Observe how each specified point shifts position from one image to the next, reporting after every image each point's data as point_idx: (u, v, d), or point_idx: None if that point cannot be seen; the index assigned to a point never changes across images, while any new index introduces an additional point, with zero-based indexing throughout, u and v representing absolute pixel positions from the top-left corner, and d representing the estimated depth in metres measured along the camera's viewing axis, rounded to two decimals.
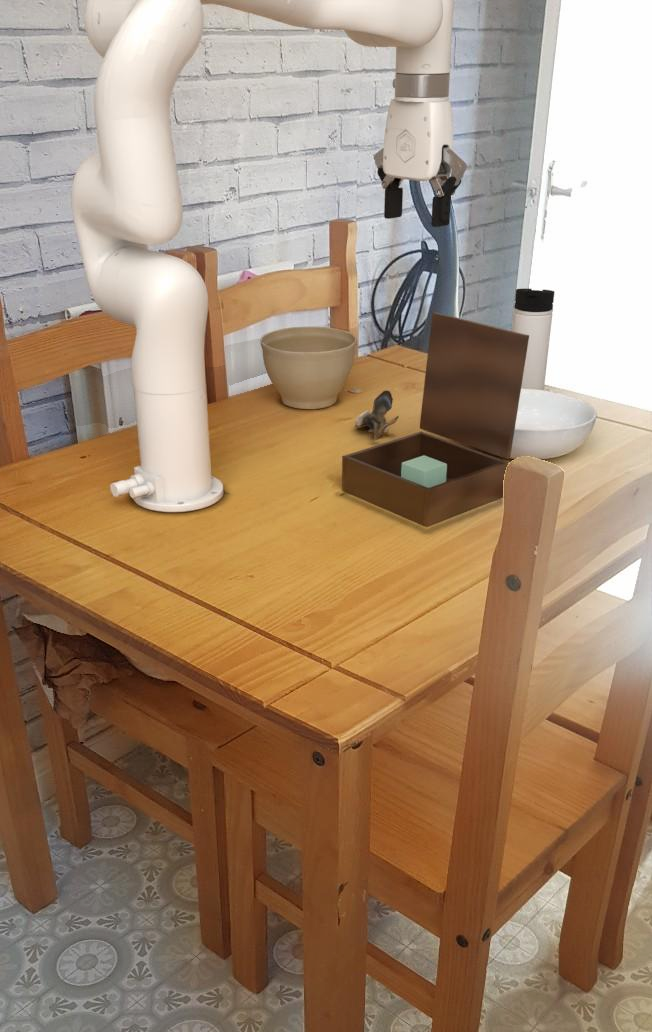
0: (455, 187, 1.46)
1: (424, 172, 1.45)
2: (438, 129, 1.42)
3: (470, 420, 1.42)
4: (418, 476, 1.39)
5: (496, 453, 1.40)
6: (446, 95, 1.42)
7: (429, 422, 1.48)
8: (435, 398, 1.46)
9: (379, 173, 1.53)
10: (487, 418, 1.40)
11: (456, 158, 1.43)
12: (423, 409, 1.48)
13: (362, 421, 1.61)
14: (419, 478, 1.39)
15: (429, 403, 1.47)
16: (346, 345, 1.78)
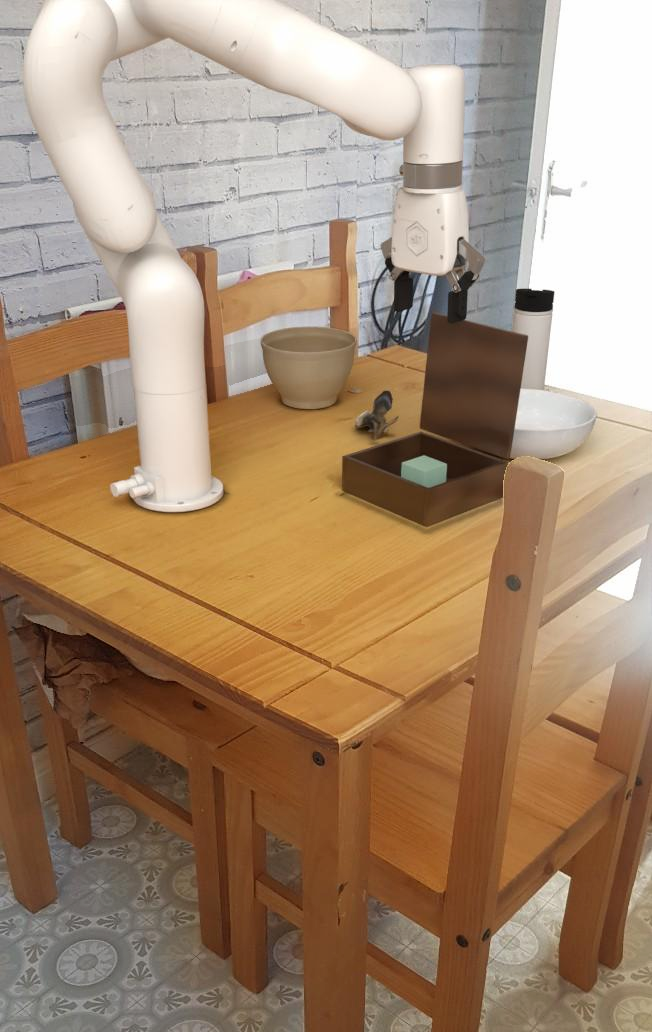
0: (472, 281, 1.34)
1: (438, 267, 1.33)
2: (452, 222, 1.30)
3: (470, 420, 1.42)
4: (418, 476, 1.39)
5: (496, 453, 1.40)
6: (460, 184, 1.30)
7: (429, 422, 1.48)
8: (435, 398, 1.46)
9: (387, 264, 1.41)
10: (487, 418, 1.40)
11: (473, 252, 1.31)
12: (422, 409, 1.48)
13: (362, 421, 1.61)
14: (419, 478, 1.39)
15: (429, 403, 1.47)
16: (346, 345, 1.78)
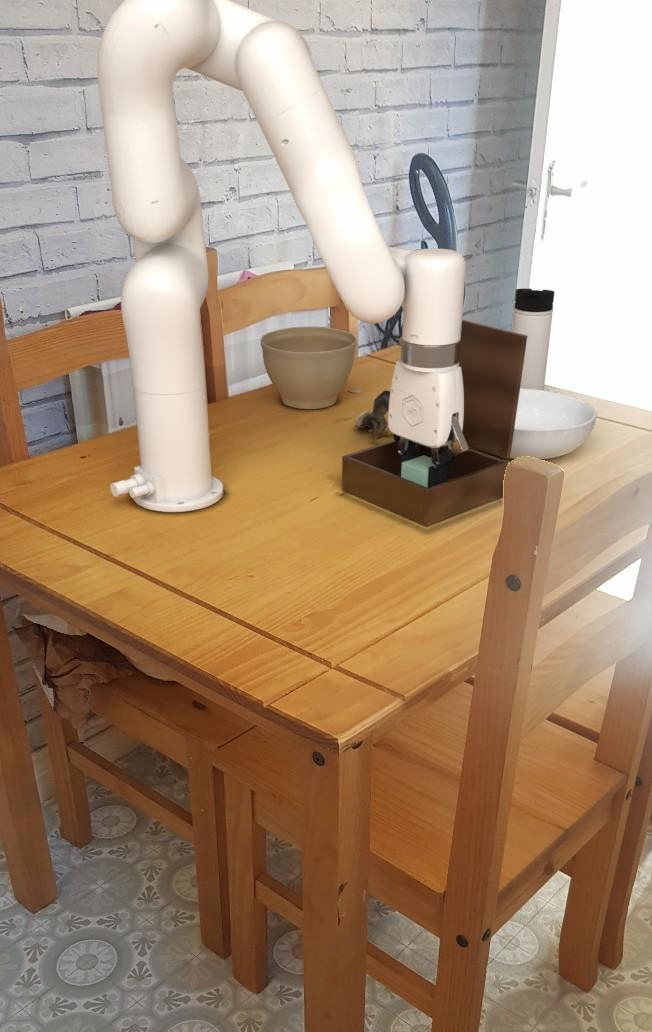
0: (452, 459, 1.37)
1: (432, 440, 1.34)
2: (447, 400, 1.31)
3: (470, 420, 1.42)
4: (418, 476, 1.39)
5: (496, 453, 1.40)
6: (456, 362, 1.32)
7: None
8: None
9: (395, 438, 1.42)
10: (487, 418, 1.40)
11: (460, 439, 1.34)
12: None
13: (362, 421, 1.61)
14: (419, 478, 1.39)
15: None
16: (346, 345, 1.78)
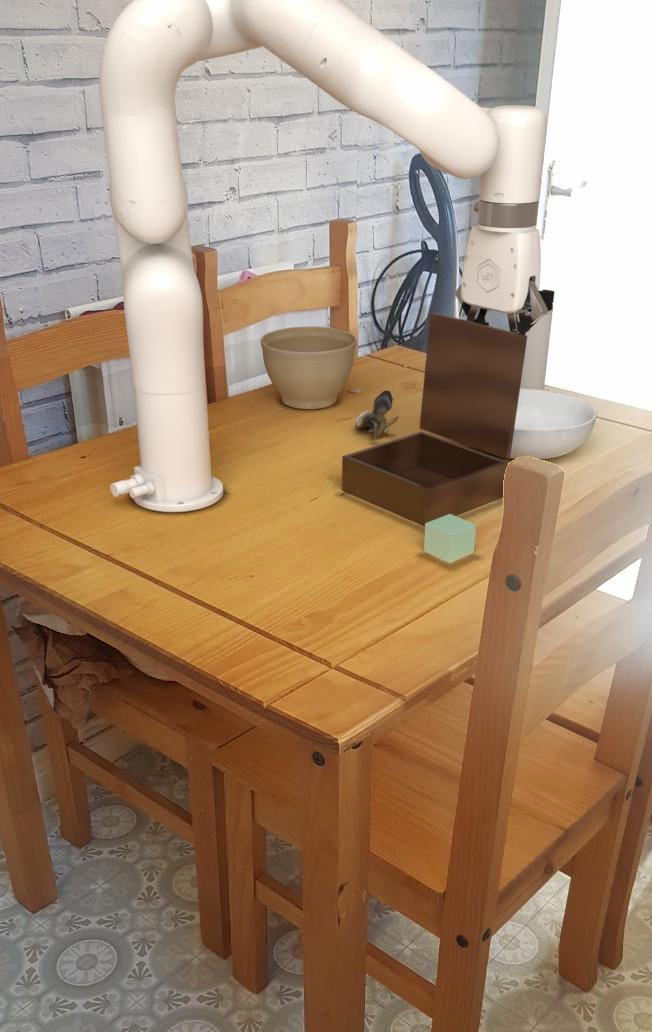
0: (531, 326, 1.36)
1: (509, 305, 1.34)
2: (525, 261, 1.31)
3: (470, 420, 1.42)
4: (444, 539, 1.24)
5: (496, 453, 1.40)
6: (534, 224, 1.31)
7: (429, 422, 1.48)
8: (434, 398, 1.46)
9: (464, 307, 1.41)
10: (487, 418, 1.40)
11: (539, 301, 1.33)
12: (422, 409, 1.48)
13: (362, 421, 1.61)
14: (445, 541, 1.24)
15: (429, 403, 1.47)
16: (346, 345, 1.78)
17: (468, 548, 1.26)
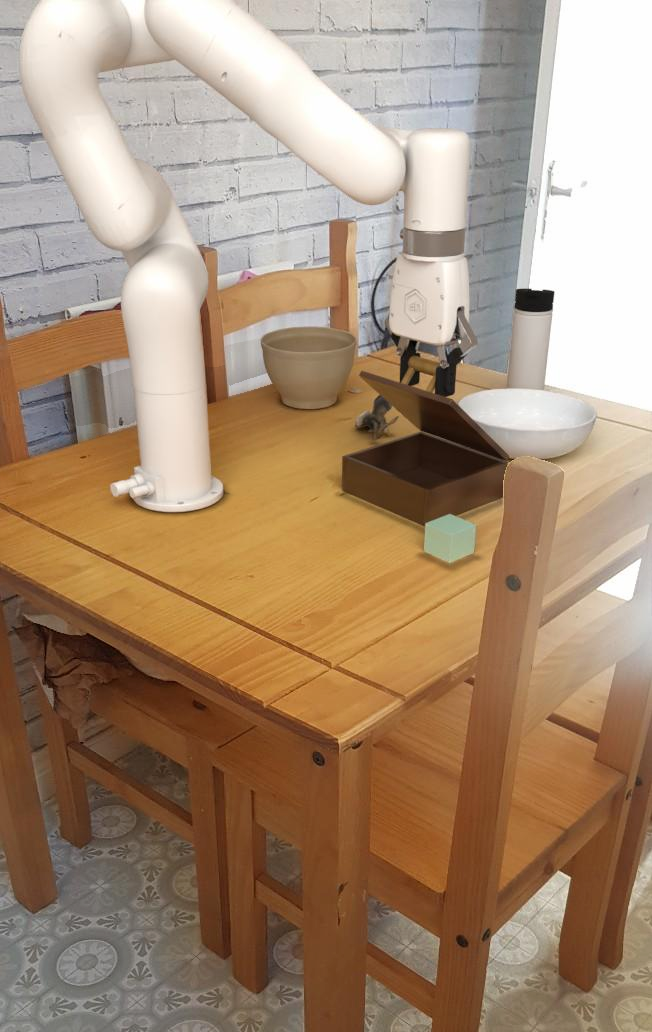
0: (461, 358, 1.29)
1: (437, 337, 1.27)
2: (452, 291, 1.24)
3: (455, 436, 1.41)
4: (444, 539, 1.24)
5: (495, 456, 1.40)
6: (461, 252, 1.25)
7: (424, 429, 1.48)
8: (414, 419, 1.44)
9: (394, 338, 1.35)
10: (468, 438, 1.39)
11: (468, 332, 1.26)
12: (411, 422, 1.47)
13: (362, 421, 1.61)
14: (445, 541, 1.24)
15: (412, 420, 1.46)
16: (346, 345, 1.78)
17: (468, 548, 1.26)
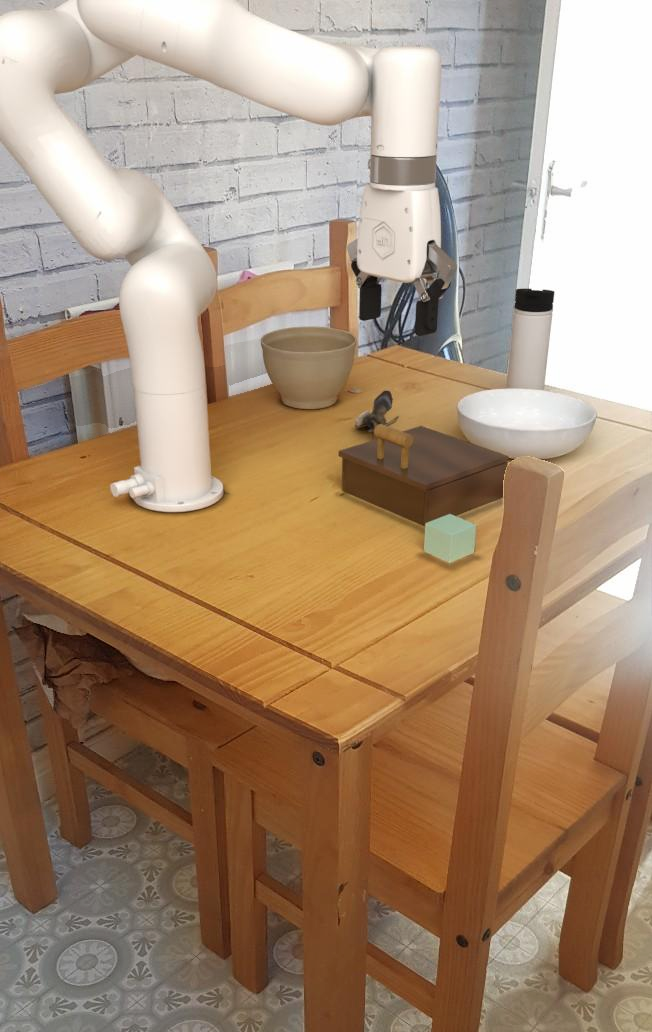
0: (443, 290, 1.20)
1: (405, 273, 1.19)
2: (422, 223, 1.17)
3: None
4: (444, 539, 1.24)
5: None
6: (432, 181, 1.17)
7: None
8: None
9: (353, 267, 1.28)
10: None
11: (444, 257, 1.18)
12: None
13: (362, 421, 1.61)
14: (445, 541, 1.24)
15: None
16: (346, 345, 1.78)
17: (468, 548, 1.26)
